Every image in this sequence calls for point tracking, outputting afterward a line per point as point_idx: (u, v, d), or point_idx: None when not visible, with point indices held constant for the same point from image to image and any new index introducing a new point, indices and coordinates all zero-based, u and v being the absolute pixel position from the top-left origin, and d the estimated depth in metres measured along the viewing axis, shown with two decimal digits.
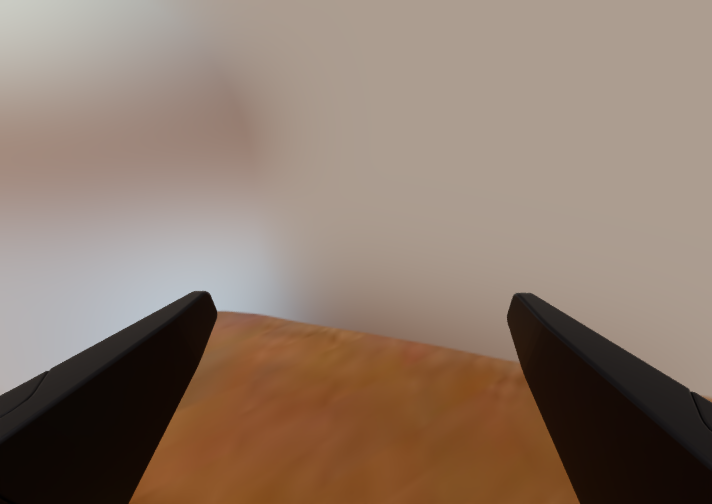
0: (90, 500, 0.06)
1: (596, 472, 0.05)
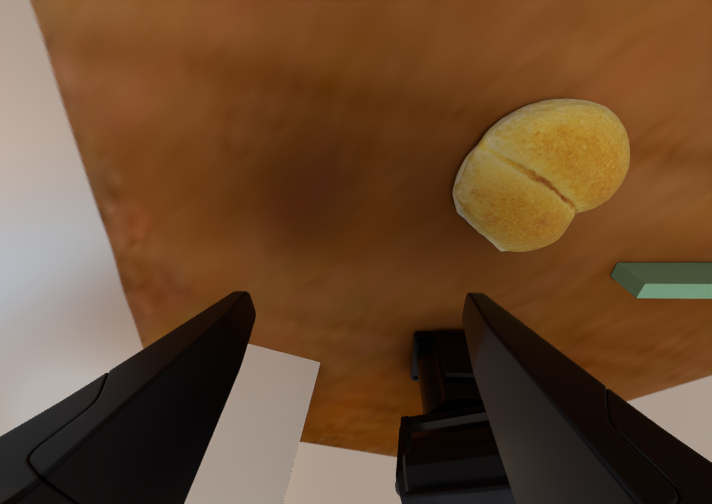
0: None
1: (525, 468, 0.05)
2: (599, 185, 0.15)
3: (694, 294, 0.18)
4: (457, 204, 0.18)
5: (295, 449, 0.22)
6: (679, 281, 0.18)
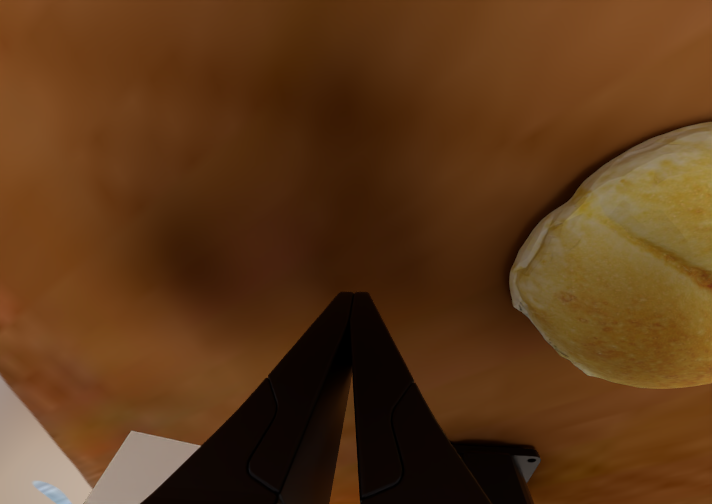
0: None
1: None
2: None
3: None
4: (517, 298, 0.10)
5: None
6: None
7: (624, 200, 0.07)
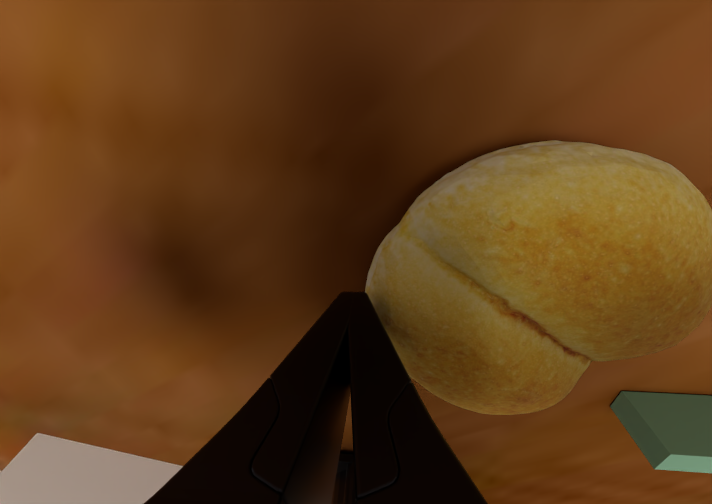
0: None
1: None
2: (651, 341, 0.06)
3: None
4: None
5: None
6: None
7: (430, 224, 0.07)
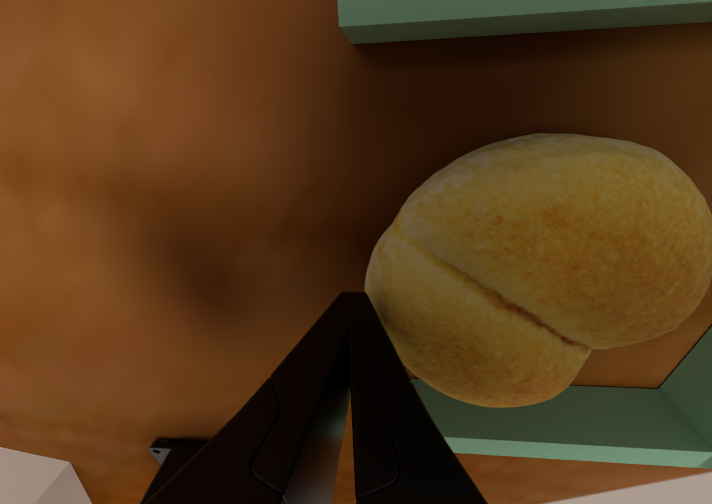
0: None
1: None
2: (648, 327, 0.06)
3: None
4: None
5: None
6: None
7: (421, 222, 0.07)
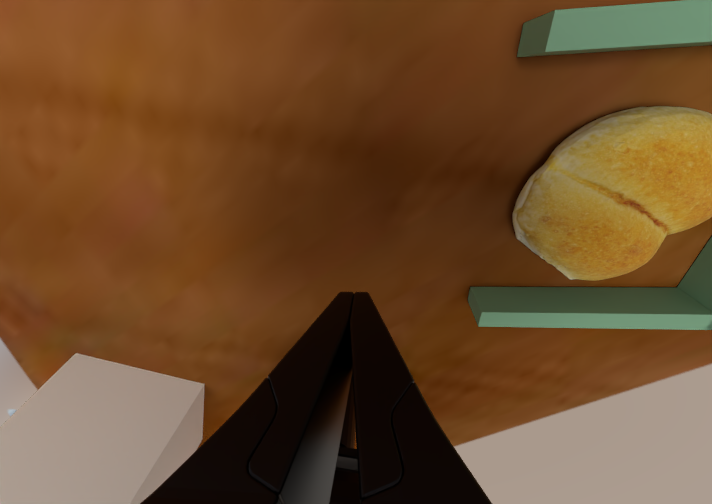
0: None
1: None
2: (705, 206, 0.12)
3: (536, 323, 0.17)
4: (518, 230, 0.16)
5: (140, 483, 0.21)
6: (518, 310, 0.17)
7: (573, 158, 0.13)
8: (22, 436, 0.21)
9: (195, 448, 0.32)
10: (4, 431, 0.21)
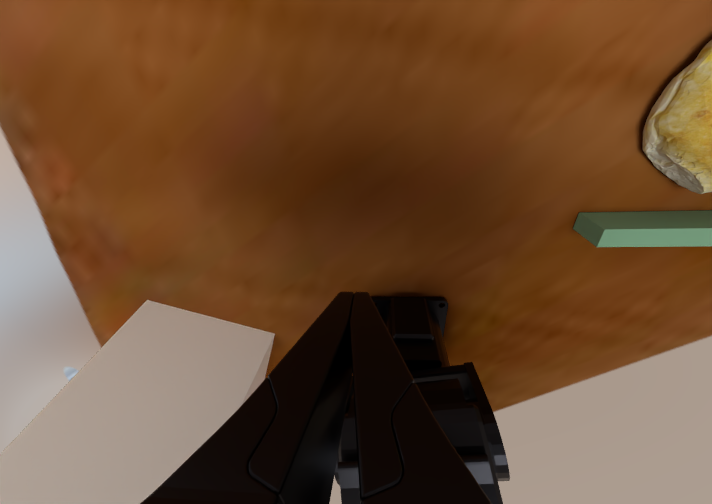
0: None
1: None
2: None
3: (659, 241, 0.17)
4: (653, 139, 0.15)
5: None
6: (643, 227, 0.17)
7: None
8: (111, 370, 0.20)
9: None
10: (93, 365, 0.20)
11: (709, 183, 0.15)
